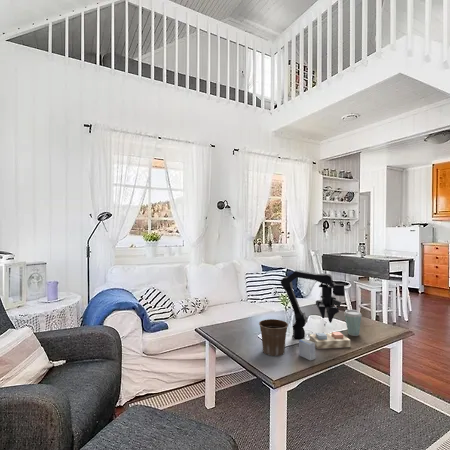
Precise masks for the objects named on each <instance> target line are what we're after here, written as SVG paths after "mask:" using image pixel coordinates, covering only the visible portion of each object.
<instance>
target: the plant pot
mask: <svg viewBox="0 0 450 450" xmlns="http://www.w3.org/2000/svg"><path fill="white" fill-rule="evenodd" d="M258 325H259V329H260V333H261V345H262V351H263V352H262V353H264V354H265V355H268V356H270V357H279V356H283V355H284V354H285V351H286V350H285V348H286V337H287V332H288V327H289V323H288V322H286V321H284V320H280V319H274V318H272V319H271V318H270V319H269V318H268V319H263V320H260V321H259V323H258Z"/></svg>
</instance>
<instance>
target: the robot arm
mask: <svg viewBox="0 0 450 450" xmlns="http://www.w3.org/2000/svg"><path fill="white" fill-rule="evenodd" d="M296 278H299V279H306V280H310V281H316V282H319V283H320V284H319V285H318V288H321V295H320V298H321V299H319V300H316V301H315V305H316V307H317V310H318V312H319V313H320V316H321V318H322V319H325V315H327V316H326V317H327V319H328V322H329V323H330V324H331V323H332V322H333V320H334V316H335V315H336V314H338V313H340V307H341V304H342V302H341V301H339V300H337V298H336V297H337V296H338V297H345V296H346V294H345V293H346V289H345V284H336V283H335V281H334V280H333V277H332V275H331V274H329V273H312V272H307V271H300V270H295V271H293V272H292V273H291V274H290V275H289V276H284V277H283V278H281V280H280V285H281V287H282V288H283V289H284V291H285V292H286V294H287V297H288V299H289V302H290V304H291V307H292V310H293V313H294V320H295V322H294V323H293V325H292V335H291V337H292V338H293V339H294V340H295V341H296V340H297V341H299V340H301V339H306V338H305V337H306V331H305V328H304V327H305V326H306V324H307V322H308V321H307V320H308V317H307V316H306V312H303V311H302V310H301V308H300V305H299V302H298V300H297V296H296V294H295V291H294V287H293V281H294V280H296ZM333 295H334V296H336V297H334V296H333Z"/></svg>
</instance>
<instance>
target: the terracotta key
mask: <svg viewBox="0 0 450 450" xmlns="http://www.w3.org/2000/svg"><path fill="white" fill-rule="evenodd" d="M331 333H332V337H334V338H335V339H340V338H343V335H344V334H343V333H342V332H340V331H331Z"/></svg>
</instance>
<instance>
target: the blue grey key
mask: <svg viewBox="0 0 450 450" xmlns="http://www.w3.org/2000/svg"><path fill="white" fill-rule="evenodd" d="M315 334H316V338H318V339H319V340H321V339H327V335H326V334H327V333H324V332H315Z"/></svg>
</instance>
